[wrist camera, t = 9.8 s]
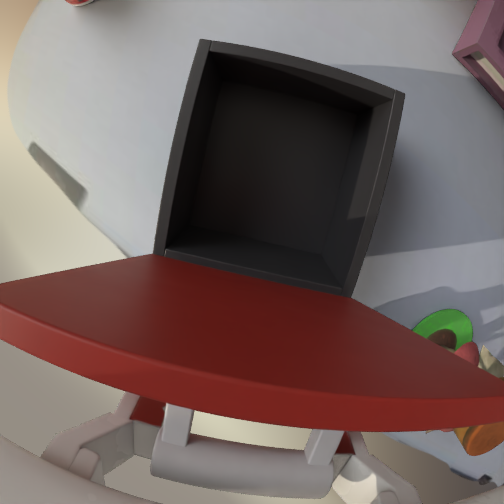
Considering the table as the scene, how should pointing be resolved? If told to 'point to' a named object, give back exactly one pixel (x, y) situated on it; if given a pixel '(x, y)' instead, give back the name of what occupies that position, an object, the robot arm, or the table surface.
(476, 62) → the book
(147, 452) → the robot arm
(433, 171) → the table surface
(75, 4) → the pill bottle
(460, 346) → the mushroom figurine
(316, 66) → the grey open box
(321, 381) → the lid
